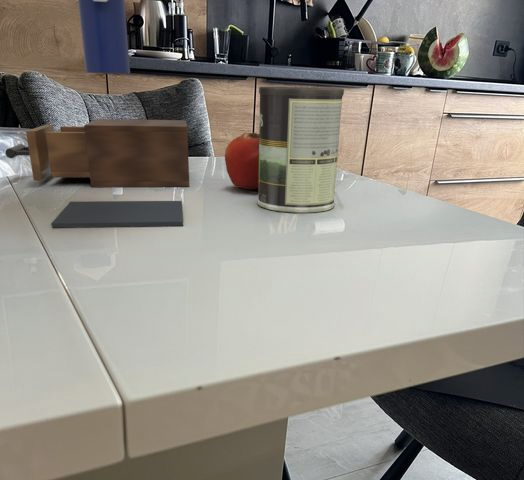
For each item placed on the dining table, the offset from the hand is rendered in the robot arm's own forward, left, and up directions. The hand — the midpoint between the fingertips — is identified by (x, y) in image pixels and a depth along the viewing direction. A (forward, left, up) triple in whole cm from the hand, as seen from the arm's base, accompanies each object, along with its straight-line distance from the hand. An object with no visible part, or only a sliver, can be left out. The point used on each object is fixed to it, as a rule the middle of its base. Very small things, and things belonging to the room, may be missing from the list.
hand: (104, 6), depth 56 cm
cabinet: (+1, +27, -21) cm, 34 cm away
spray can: (0, 0, -6) cm, 6 cm away
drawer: (-10, +27, -20) cm, 35 cm away
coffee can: (+22, +5, -21) cm, 31 cm away
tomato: (+18, +17, -21) cm, 33 cm away
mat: (0, 0, -21) cm, 21 cm away
